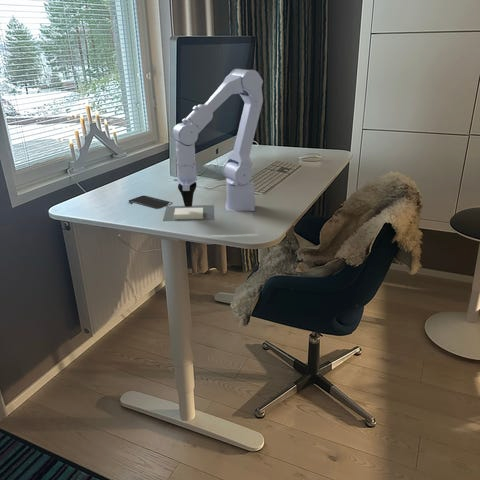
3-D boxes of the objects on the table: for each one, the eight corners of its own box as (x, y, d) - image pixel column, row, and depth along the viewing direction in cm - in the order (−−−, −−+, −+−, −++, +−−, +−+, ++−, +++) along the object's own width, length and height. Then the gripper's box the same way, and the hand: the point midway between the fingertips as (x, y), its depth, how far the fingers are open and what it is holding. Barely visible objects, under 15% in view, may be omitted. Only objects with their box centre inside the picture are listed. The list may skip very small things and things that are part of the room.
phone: (157, 208, 151) (127, 200, 159) (158, 212, 152) (127, 203, 160) (174, 202, 157) (143, 194, 165) (174, 205, 158) (144, 197, 166)
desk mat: (213, 206, 155) (213, 205, 155) (214, 221, 142) (214, 219, 142) (166, 207, 154) (166, 206, 154) (162, 222, 142) (162, 221, 141)
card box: (203, 207, 148) (202, 213, 142) (203, 212, 149) (202, 218, 143) (175, 208, 147) (173, 214, 142) (175, 212, 148) (174, 219, 143)
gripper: (174, 158, 145) (177, 199, 151) (171, 170, 132) (174, 214, 137) (196, 158, 146) (198, 198, 151) (195, 169, 132) (197, 213, 138)
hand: (188, 206), depth 144 cm, fingers closed
